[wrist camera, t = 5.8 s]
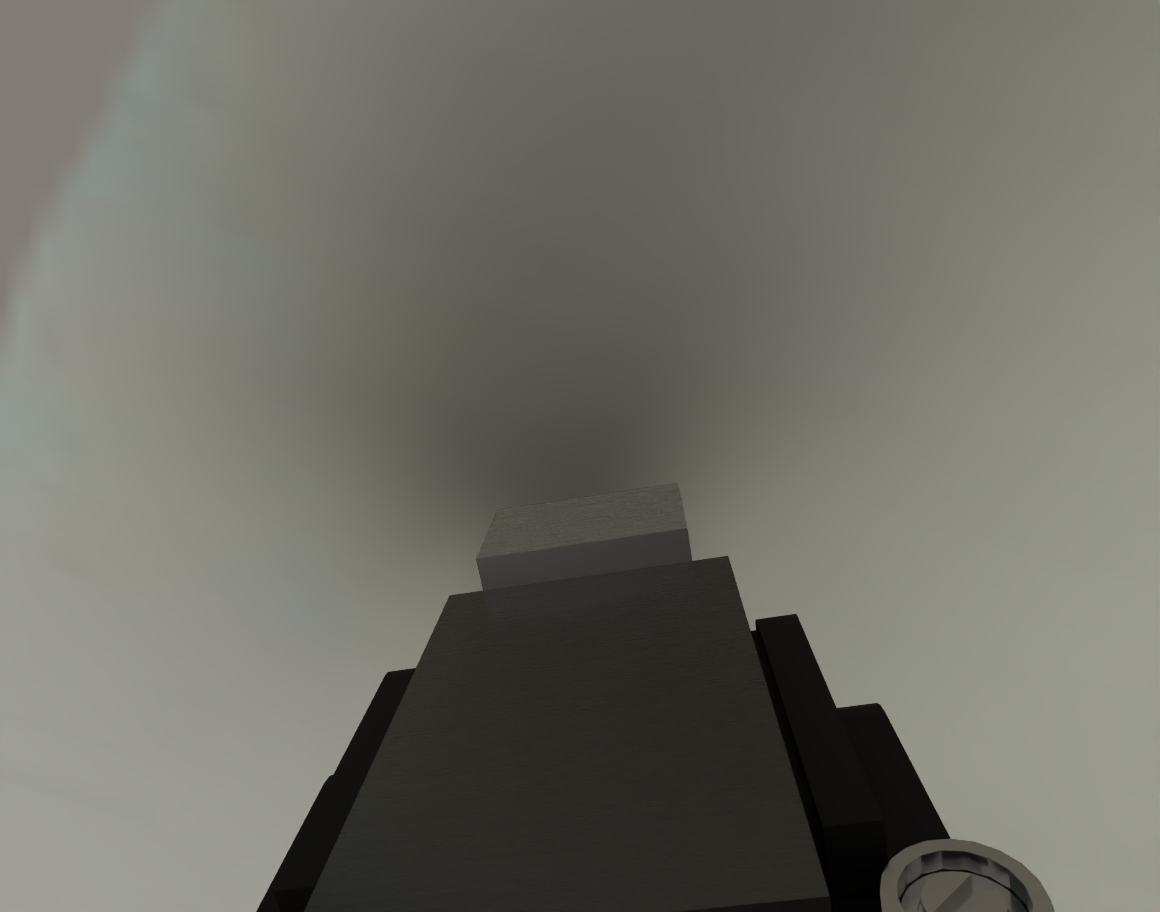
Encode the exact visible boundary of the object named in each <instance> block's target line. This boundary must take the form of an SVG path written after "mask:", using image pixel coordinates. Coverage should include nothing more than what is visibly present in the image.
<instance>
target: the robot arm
mask: <svg viewBox="0 0 1160 912" xmlns="http://www.w3.org/2000/svg"><path fill="white" fill-rule="evenodd" d="M755 623H756V630H755V631H751V634H752V638H753V641H754V644H755V648H756V651H757V654H758V658H759V661H760V664H761V668H762V671H763V674H764V678H765V681H766V684H767V688H768V691H769V694H770V698H771V701H772V704H773V708H774V711H775V714H776V718H777V721H778V724H779V728H780V731H781V734H782V738H783V741H784V744H785V748H786V751H787V754H788V758H789V761H790V765H791V768H792V771H793V775H794V778H795V781H796V785H797V788H798V791H799V795H800V798H801V801H802V805H803V808H804V811H805V815H806V818H807V821H808V825H809V828H810V831H811V835H812V838H813V841H814V845H815V848H816V851H817V855H818V858H819V861H820V865H821V868H822V871H823V875H824V878H825V881H826V885H827V888H828V891H829V895H830V901H831V909H832V912H1055V911H1054V908H1053V905H1052V902H1051V900H1050V898H1049V896H1048V894H1047V893H1046V891H1045V889H1044V887H1043V886H1042V884H1041V882H1040V880H1039V879H1038V878H1037V877H1036V876H1034V875H1033V874H1032V873H1031V872H1030V871H1029V870H1028V869H1027V868H1026V867H1025V866H1024V865H1023V864H1022V863H1020V862H1019V861H1017V860H1015V859H1014V858H1012V857H1010V856H1008V855H1007V854H1005V853H1003V852H1002V851H1000V850H997V849H994V848H991V847H988V846H985V845H982V844H980V843H977V842H972V841H964V840H956V839H950V837H949V835H948V833H947V831H946V829H945V827H944V825H943V823H942V821H941V819H940V817H939V815H938V813H937V812H936V810H935V808H934V806H933V804H932V802H931V800H930V798H929V796H928V794H927V792H926V790H925V788H924V786H923V785H922V783H921V781H920V779H919V777H918V775H917V773H916V771H915V769H914V767H913V765H912V763H911V761H910V759H909V757H908V756H907V754H906V752H905V750H904V748H903V746H902V744H901V742H900V740H899V738H898V736H897V734H896V732H895V730H894V729H893V727H892V725H891V723H890V721H889V719H888V717H887V715H886V713H885V711H884V710H883V708H882V707H881V705H880V704H878V703H873V704H865V705H858V706H850V707H842V708H836V706H835V703H834V701H833V699H832V696H831V694H830V692H829V689H828V687H827V685H826V682H825V680H824V677H823V675H822V673H821V670H820V668H819V666H818V663H817V661H816V659H815V656H814V654H813V652H812V649H811V647H810V645H809V642H808V640H807V637H806V635H805V633H804V630H803V628H802V626H801V623H800V621H799V619H798V616H797V615H796V614H792V615H785V616H778V617H771V618H764V619H757V620H756V622H755ZM415 670H416V668H413V669H406V670H399V671H392V672H388V673H387V674H386V675H385V677H384V679H383V681H382V682H381V684H380V686H379V688H378V690H377V692H376V694H375V696H374V698H373V700H372V702H371V704H370V706H369V707H368V709H367V711H366V713H365V715H364V717H363V719H362V721H361V723H360V725H359V727H358V729H357V731H356V732H355V734H354V736H353V738H352V740H351V742H350V744H349V746H348V748H347V750H346V752H345V754H344V756H343V757H342V759H341V761H340V763H339V765H338V767H337V769H336V771H335V773H334V775H331V776H329V778H328V779H327V781H326V782H325V783H324V785H323V787H322V789H321V790H320V792H319V794H318V796H317V798H316V800H315V802H314V804H313V806H312V807H311V809H310V811H309V813H308V815H307V817H306V819H305V821H304V823H303V824H302V826H301V828H300V830H299V832H298V834H297V836H296V838H295V840H294V841H293V843H292V845H291V847H290V849H289V851H288V853H287V855H286V857H285V858H284V860H283V862H282V864H281V866H280V868H279V870H278V872H277V874H276V875H275V877H274V879H273V881H272V883H271V885H270V887H269V889H268V891H267V893H266V894H265V896H264V898H263V900H262V902H261V904H260V906H259V908H258V910H257V911H256V912H304V910H305V908H306V906H307V904H308V902H309V900H310V897H311V895H312V893H313V891H314V889H315V887H316V884H317V882H318V880H319V878H320V876H321V874H322V871H323V869H324V867H325V865H326V863H327V861H328V858H329V856H330V854H331V852H332V850H333V847H334V845H335V843H336V841H337V839H338V837H339V834H340V832H341V830H342V828H343V826H344V824H345V821H346V819H347V817H348V815H349V813H350V811H351V808H352V806H353V804H354V802H355V800H356V798H357V795H358V793H359V791H360V789H361V787H362V785H363V782H364V780H365V778H366V776H367V774H368V772H369V769H370V767H371V765H372V763H373V761H374V758H375V756H376V754H377V752H378V750H379V748H380V745H381V743H382V741H383V739H384V737H385V735H386V732H387V730H388V728H389V726H390V724H391V722H392V719H393V717H394V715H395V713H396V711H397V709H398V706H399V704H400V702H401V700H402V698H403V696H404V693H405V691H406V689H407V687H408V685H409V683H410V680H411V678H412V676H413V674H414V672H415Z"/></svg>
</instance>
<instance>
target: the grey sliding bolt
mask: <svg viewBox="0 0 1160 912" xmlns="http://www.w3.org/2000/svg"><path fill="white" fill-rule="evenodd" d="M476 560H477V565H478V569H479V574H480V578H481V582H482V587H483V591H478V592H471V593H464V594H457V595H450V596H449V598H448V600H447V602H446V604H445V607H444V609H443V611H442V613H441V615H440V617H439V620H438V622H437V624H436V626H435V628H434V630H433V633H432V635H431V637H430V639H429V641H428V643H427V646H426V648H425V650H424V652H423V654H422V656H421V659H420V661H419V663H418V665H417V667H416V670H415V672H414V674H413V676H412V678H411V680H410V683H409V685H408V687H407V689H406V691H405V693H404V696H403V698H402V700H401V702H400V704H399V706H398V709H397V711H396V713H395V715H394V717H393V719H392V722H391V724H390V726H389V728H388V730H387V732H386V735H385V737H384V739H383V741H382V743H381V745H380V748H379V750H378V752H377V754H376V756H375V758H374V761H373V763H372V765H371V767H370V769H369V772H368V774H367V776H366V778H365V780H364V782H363V785H362V787H361V789H360V791H359V793H358V795H357V798H356V800H355V802H354V804H353V806H352V808H351V811H350V813H349V815H348V817H347V819H346V821H345V824H344V826H343V828H342V830H341V832H340V834H339V837H338V839H337V841H336V843H335V845H334V847H333V850H332V852H331V854H330V856H329V858H328V861H327V863H326V865H325V867H324V869H323V871H322V874H321V876H320V878H319V880H318V882H317V884H316V887H315V889H314V891H313V893H312V895H311V897H310V900H309V902H308V904H307V906H306V908H305V910H304V912H832V909H831V901H830V895H829V891H828V888H827V885H826V881H825V878H824V875H823V871H822V868H821V865H820V861H819V858H818V855H817V851H816V848H815V845H814V841H813V838H812V835H811V831H810V828H809V825H808V821H807V818H806V815H805V811H804V808H803V805H802V801H801V798H800V795H799V791H798V788H797V785H796V781H795V778H794V775H793V771H792V768H791V765H790V761H789V758H788V754H787V751H786V748H785V744H784V741H783V738H782V734H781V731H780V728H779V724H778V721H777V718H776V714H775V711H774V708H773V704H772V701H771V698H770V694H769V691H768V688H767V684H766V681H765V678H764V674H763V671H762V668H761V664H760V661H759V658H758V654H757V651H756V648H755V644H754V641H753V638H752V634H751V631H750V628H749V624H748V621H747V618H746V614H745V611H744V608H743V604H742V601H741V598H740V594H739V591H738V588H737V584H736V581H735V578H734V574H733V571H732V568H731V564H730V561H729V557H728V556H724V557H717V558H710V559H703V560H696V561H692V556H691V550H690V543H689V537H688V530H687V525H686V520H685V514H684V509H683V504H682V499H681V494H680V489H679V484H678V483H674V484H668V485H661V486H654V487H648V488H641V489H635V490H628V491H621V492H615V493H608V494H602V495H595V496H588V497H582V498H575V499H569V500H562V501H555V502H549V503H542V504H536V505H529V506H522V507H516V508H509V509H503V510H497V512H496V514H495V516H494V519H493V521H492V523H491V525H490V528H489V530H488V532H487V535H486V537H485V539H484V542H483V544H482V546H481V549H480V551H479V553H478V556H477V558H476Z"/></svg>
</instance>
